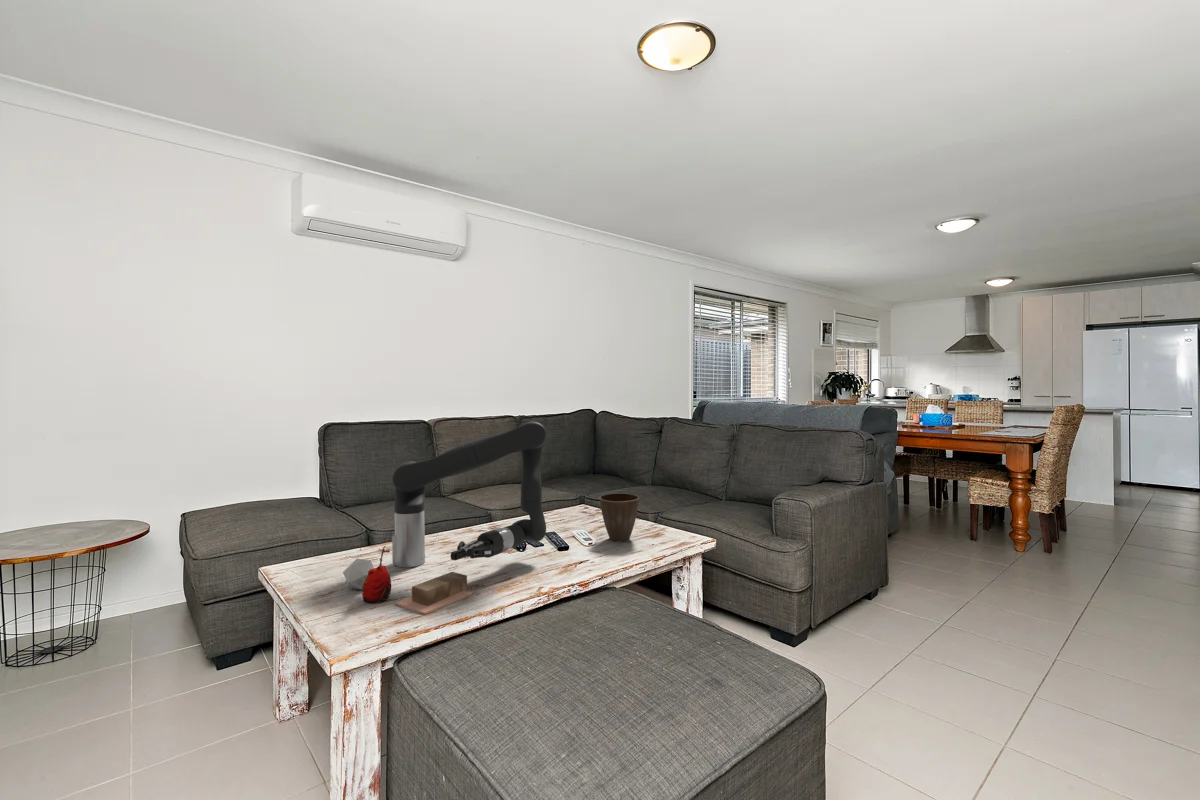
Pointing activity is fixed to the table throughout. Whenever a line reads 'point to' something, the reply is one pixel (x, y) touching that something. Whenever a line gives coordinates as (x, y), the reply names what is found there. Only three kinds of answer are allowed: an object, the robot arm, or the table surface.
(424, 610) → the felt mat
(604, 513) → the plant pot
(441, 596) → the walnut block
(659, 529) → the table surface
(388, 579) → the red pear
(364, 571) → the die
